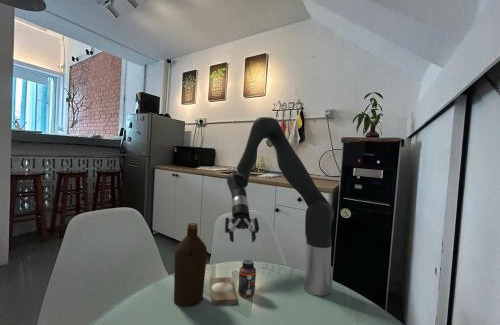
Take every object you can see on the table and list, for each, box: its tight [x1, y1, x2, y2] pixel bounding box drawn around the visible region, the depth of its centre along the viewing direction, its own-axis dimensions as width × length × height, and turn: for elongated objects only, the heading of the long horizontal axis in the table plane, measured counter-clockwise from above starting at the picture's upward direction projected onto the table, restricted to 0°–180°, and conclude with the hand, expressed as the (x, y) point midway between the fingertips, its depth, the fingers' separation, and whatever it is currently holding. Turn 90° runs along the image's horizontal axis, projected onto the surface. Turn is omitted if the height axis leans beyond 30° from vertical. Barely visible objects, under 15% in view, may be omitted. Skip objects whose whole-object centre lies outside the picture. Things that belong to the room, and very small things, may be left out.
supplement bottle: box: [237, 259, 257, 298], centre depth 87 cm, size 6×6×11 cm
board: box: [209, 276, 238, 306], centre depth 87 cm, size 8×16×2 cm, turn 11°
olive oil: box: [173, 222, 208, 308], centre depth 81 cm, size 11×11×25 cm
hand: (243, 241), depth 98 cm, fingers open, 8 cm apart
